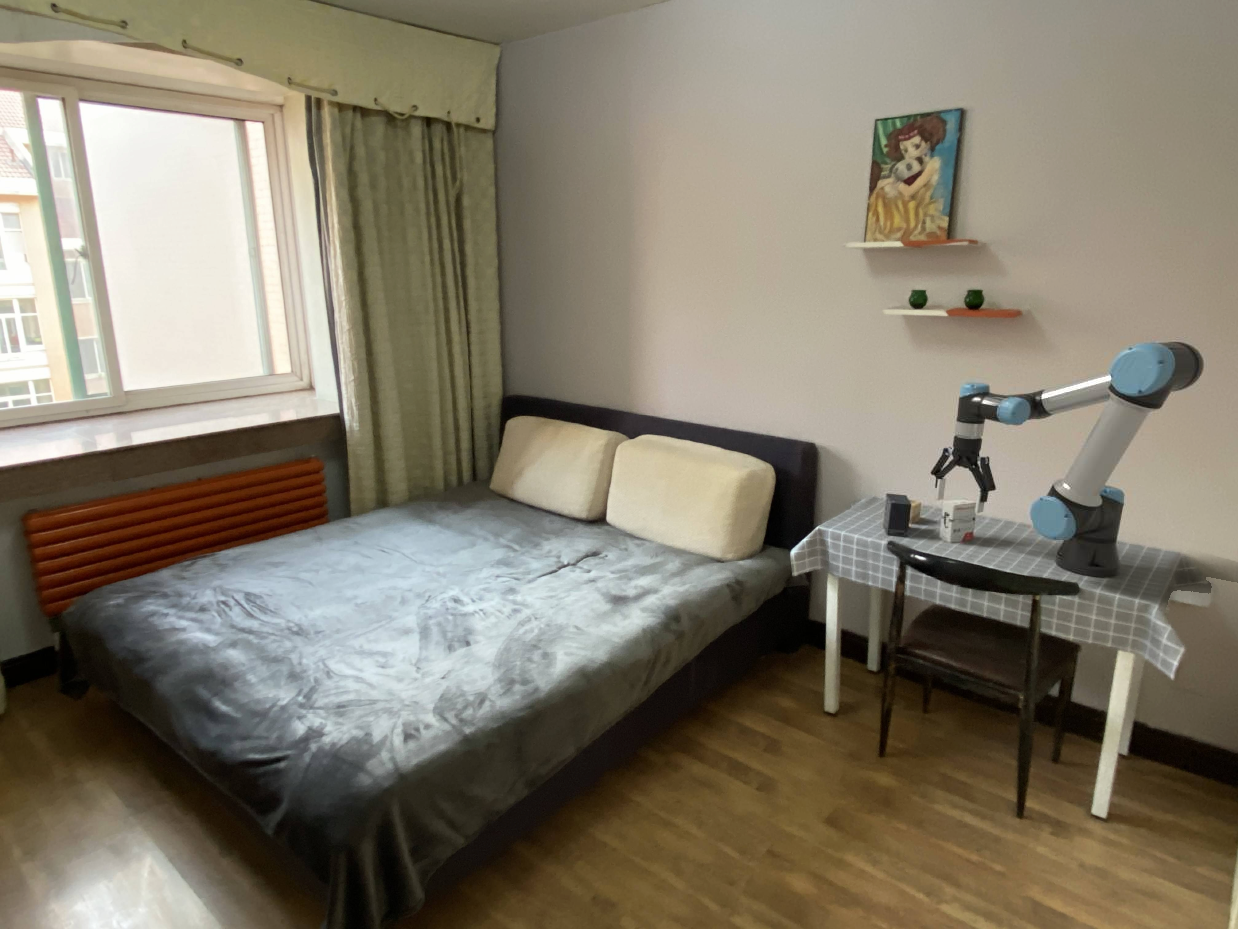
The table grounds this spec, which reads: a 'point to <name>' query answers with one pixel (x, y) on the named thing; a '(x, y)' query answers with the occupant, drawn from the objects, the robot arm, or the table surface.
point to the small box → (897, 515)
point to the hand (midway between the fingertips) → (958, 505)
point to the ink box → (958, 520)
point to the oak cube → (914, 511)
